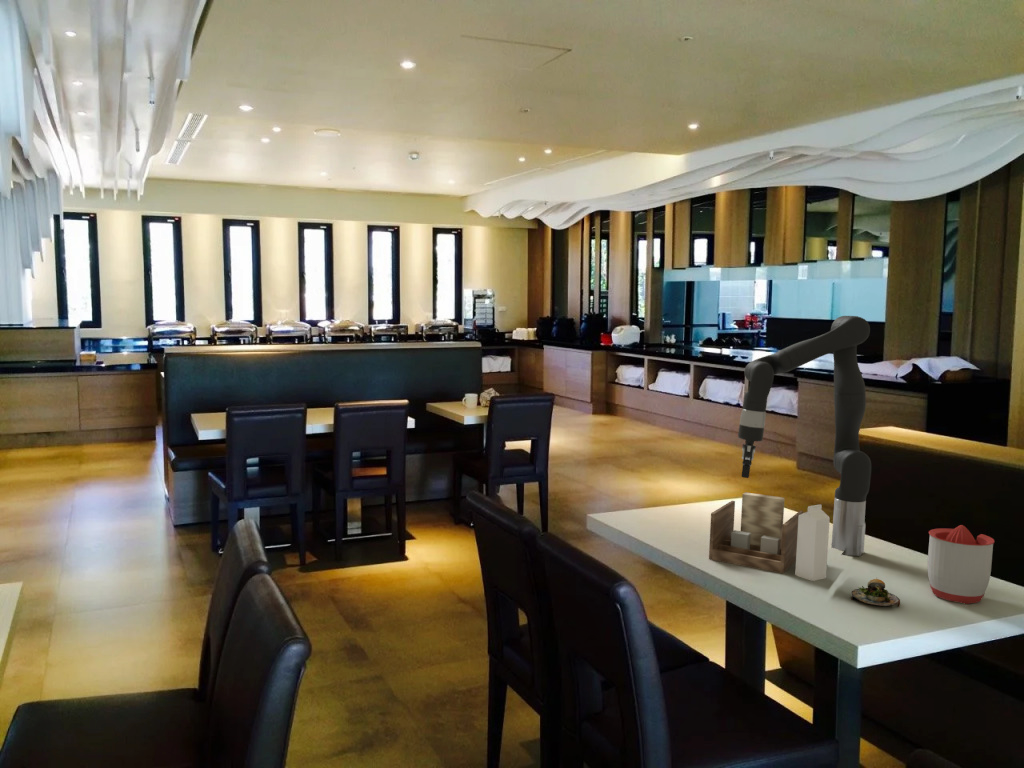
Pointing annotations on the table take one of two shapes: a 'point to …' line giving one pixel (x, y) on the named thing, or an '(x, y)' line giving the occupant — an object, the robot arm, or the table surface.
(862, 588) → the burger
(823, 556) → the milk
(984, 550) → the citrus juicer
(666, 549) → the table surface
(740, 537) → the offcut
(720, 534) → the rack
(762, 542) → the offcut
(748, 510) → the beige patterned book
